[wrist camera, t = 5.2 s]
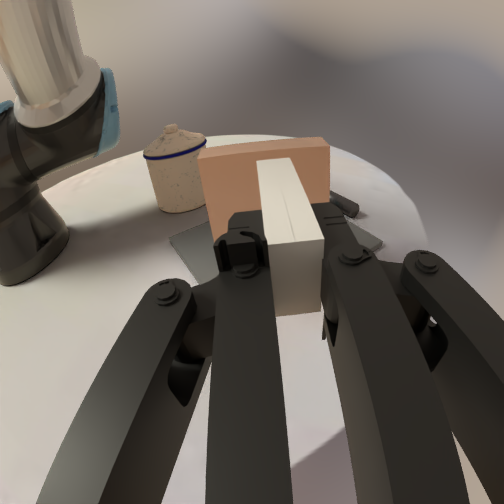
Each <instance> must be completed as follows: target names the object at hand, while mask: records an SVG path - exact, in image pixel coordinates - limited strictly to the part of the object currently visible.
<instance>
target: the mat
mask: <svg viewBox="0 0 504 504" xmlns="http://www.w3.org/2000/svg"><path fill="white" fill-rule="evenodd" d="M346 221H347V220H346ZM347 224H349V226H350V228H351V230H352V232H353V234H354V235H355V237H356V239H357V241H358V243H359V244H360V245H363V246H365V247H367V248H369V249H370V250H371V251H372V252H373V251H374V250H376V249H378V248H379V247H381V246H382V241H381V240H380V239H378V238H376V237H375V236H373V235H371V234H370V233H368V232H366V231H364V230H363V229H361V228H359V227H358V226H356V225H354V224H352V223H351V222H349V221H347ZM169 240H170V243H171V244H172V245H173V247H174V248H175V250H176V251H177V253H178V254H179V256H180V257H181V259H182V260H183V262H184V263H185V265H186V266H187V267H188V269H189V270H190V272H191V273H192V275H193V276H194V278H195V279H196V280H197V282H198V283H199V285H200V284H203V283H206V282H208V281H210V280H212V279H213V278H215V277H216V276H217V275H218V274H219V270H218V265H217V261H216V257H215V253H214V248H213V245H214V239H213V235H212V230H211V226H210V221H209V222H206V223H204V224H201V225H199V226H196V227H194V228H191V229H189V230H187V231H184V232H182V233H179V234H177V235H175V236H172V237H170V238H169Z"/></svg>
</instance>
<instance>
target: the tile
mask: <svg viewBox="0 0 504 504" xmlns="http://www.w3.org/2000/svg"><path fill="white" fill-rule="evenodd" d="M279 158H290V159H291V161H292V164H293V166H294V168H295V170H296V173H297V175H298V177H299V179H300V182H301V184H302V186H303V189H304V191H305V193H306V196H307V198H308V200H309V203H310V204H313V203H324V202H329V197H330V146H329V145H328V143H327V142H326V141H325V140H324V139H323V138H322V137H312V138H311V137H310V138H294V139H281V140H269V141H259V142H249V143H240V144H232V145H224V146H217V147H210V148H203V149H201V151H200V153H199V155H198V158H197V162H198V167H199V172H200V177H201V182H202V187H203V192H204V197H205V202H206V207H207V212H208V216H209V221H210V226H211V230H212V235H213V239H214V243H215V241H216V240H217V239H218V238H219V237H220V236H221V235H223V234H225V233H227V230H228V220H229V219H230V218H231V216H232V215H233V214H234V213H235V212H244V211H253V210H262V206H261V197H260V188H259V180H258V171H257V162H256V161H259V160H268V159H279Z"/></svg>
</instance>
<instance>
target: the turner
mask: <svg viewBox="0 0 504 504" xmlns="http://www.w3.org/2000/svg"><path fill="white" fill-rule="evenodd" d="M329 202H331V203H332V204H334V205H335V206H337V207H338V208H340V210H341V212H343V213H344V214H346V215H348V216H350V217H352V218H353V217H355V216H356V215H357V214H358V212H359V205H358V204H356V203H354V202H353V201H351V200H349V199H347V198H345V197H343V196H341V195H338V194H336V193H334V192H332V191H330V197H329Z"/></svg>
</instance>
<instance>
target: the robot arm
mask: <svg viewBox="0 0 504 504" xmlns="http://www.w3.org/2000/svg"><path fill="white" fill-rule="evenodd" d="M0 64H1V66H2V68H3V70H4V72H5V73H6V75H7V77H8V79H9V81H10V83H11V85H12V86H13V88H14V90H15V92H16V94H17V96H16V99H15V102H14V103H13V102H12V101H10V100H9V101H5V102H2V103H0V284H2V285H14V284H17V283H20V282H22V281H24V280H26V279H28V278H30V277H32V276H33V275H35V274H36V273H38V272H39V271H41V270H42V269H43V268H44V267H46V266H47V265H48V264H49V263H50V262H51V261H52V260H53V259H55V257H56V256H57V255H58V254H59V253H60V252H61V251H62V249H63V248H64V246H65V245H66V243H67V241H68V238H69V231H68V229H67V227H66V225H65V222H64V220H63V219H62V218H61V217H60V215H59V214H58V213H57V212H56V211H55V210H54V209H53V207H52V206H51V205H50V204H49V203H48V202H47V200H46V199H45V198H44V197H43V196H42V194H41V192H40V189H39V187H38V184H37V180H39V179H41V178H43V177H45V176H48V175H50V174H52V173H55V172H57V171H59V170H62V169H64V168H67V167H69V166H71V165H74V164H76V163H79V162H82V161H85V160H87V159H90V158H94V157H97V156H98V155H99V154H101V153H103V152H105V151H108V150H110V149H112V148H114V147H115V146H116V145H117V144H118V142H119V138H120V121H119V112H118V108H117V106H118V105H117V94H116V87H115V81H114V76H113V72H112V70H111V69H109V68H105V69H104V68H101V69H100V67H99V65H98V63H97V62H96V60H94V59H93V58H91V57H89V56H86V55H83V52H82V48H81V44H80V40H79V35H78V31H77V26H76V22H75V17H74V12H73V8H72V2H71V0H0ZM256 162H257V171H258V180H259V188H260V197H261V206H262V210H253V211H244V212H235V213H234V214H233V215H232V216H231V218H230V219H229V220H228V230H227V233H225V234H223V235H221V236H220V237H219V238H218V239H217V240H216V241H215V243H214V245H213V248H214V253H215V257H216V261H217V265H218V270H219V274H218V275H217V276H216V277H215V278H213V279H212V280H210V281H208V282H206V283H203V284H200V285H197V286H194V287H190V284H188V283H187V282H186V281H185V280H181V279H177V278H174V279H166V280H163V281H160V282H158V283H156V284H155V285H153V286H151V287H150V288H149V290H148V291H147V292H146V293H145V294H144V296H143V298H142V299H141V301H140V302H139V304H138V306H137V307H136V309H135V310H134V312H133V314H132V315H131V317H130V319H129V320H128V322H127V324H126V325H125V327H124V329H123V330H122V332H121V334H120V335H119V337H118V339H117V340H116V342H115V344H114V346H113V347H112V349H111V351H110V353H109V354H108V356H107V358H106V360H105V361H104V363H103V365H102V367H101V368H100V370H99V372H98V374H97V376H96V378H95V379H94V381H93V383H92V385H91V387H90V389H89V390H88V392H87V394H86V396H85V398H84V400H83V402H82V404H81V406H80V408H79V410H78V412H77V414H76V416H75V417H74V419H73V421H72V423H71V426H70V428H69V430H68V432H67V434H66V436H65V438H64V440H63V442H62V444H61V446H60V448H59V451H58V453H57V455H56V457H55V459H54V462H53V464H52V466H51V468H50V471H49V473H48V475H47V478H46V480H45V482H44V485H43V487H42V489H41V492H40V494H39V497H38V499H37V502H36V504H161V502H162V499H163V497H164V494H165V491H166V488H167V485H168V482H169V480H170V477H171V474H172V471H173V468H174V466H175V463H176V460H177V457H178V454H179V452H180V449H181V446H182V443H183V440H184V437H185V435H186V432H187V429H188V426H189V423H190V421H191V418H192V415H193V412H194V409H195V407H196V404H197V401H198V398H199V395H200V393H201V390H202V387H203V384H204V381H205V378H206V376H207V373H208V370H209V367H210V364H211V362H212V366H211V382H210V398H209V417H208V437H207V462H206V495H205V504H293V495H292V483H291V470H290V459H289V447H288V436H287V425H286V415H285V404H284V394H283V384H282V374H281V364H280V354H279V345H278V335H277V326H276V317H277V316H286V315H295V314H303V313H312V312H319V311H321V301H322V305H323V309H324V320H323V331H322V340H325V339H326V337H327V342H328V346H329V350H330V355H331V359H332V364H333V368H334V373H335V378H336V382H337V387H338V392H339V397H340V402H341V407H342V412H343V417H344V423H345V428H346V434H347V438H348V445H349V451H350V457H351V463H352V468H353V475H354V481H355V488H356V496H357V503H358V504H470V503H469V498H468V493H467V488H466V483H465V479H464V475H463V471H462V467H461V463H460V459H459V455H458V452H457V448H456V445H455V442H454V438H453V434H454V436H455V437H456V439H457V441H458V442H459V444H460V446H461V447H462V449H463V451H464V453H465V454H466V456H467V458H468V460H469V461H470V463H471V465H472V467H473V468H474V470H475V472H476V474H477V476H478V478H479V480H480V482H481V483H482V485H483V487H484V489H485V491H486V493H487V495H488V497H489V499H490V501H491V503H492V504H504V321H503V320H502V319H501V318H500V317H499V315H498V314H497V313H496V312H495V311H494V310H493V309H492V308H491V307H490V306H489V304H488V303H487V302H486V301H485V300H484V299H483V298H482V297H481V296H480V295H479V294H478V293H477V292H476V291H475V290H474V289H473V288H472V287H471V286H470V285H469V284H468V283H467V282H466V281H465V280H464V279H463V278H462V277H461V276H460V275H459V274H458V273H457V272H456V271H455V270H453V268H452V267H451V266H450V265H448V264H447V263H446V262H445V261H444V260H443V259H442V258H441V257H439V256H438V255H436V254H434V253H432V252H429V251H424V250H416V251H412V252H410V253H408V254H407V255H406V257H405V259H404V262H403V264H402V263H393V262H385V261H380V260H378V259H377V257H376V256H375V254H374V253H373V252H372V251H371V250H370V249H369V248H367V247H365V246H363V245H360V244H359V243H358V241H357V239H356V237H355V235H354V234H353V232H352V230H351V228H350V226H349V224H347V221H346V219H345V217H344V216H343V214H342V212H341V210H340V208H338V207H337V206H335V205H334V204H332V203H331V202H324V203H313V204H310V203H309V200H308V198H307V196H306V193H305V191H304V189H303V186H302V184H301V182H300V179H299V177H298V175H297V173H296V170H295V168H294V166H293V164H292V161H291V159H290V158H279V159H268V160H259V161H256ZM431 316H432V317H433V319H434V320H435V321H436V322H437V324H434V323H433V322H432V321H431V320H430V317H431ZM452 432H453V434H452Z"/></svg>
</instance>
